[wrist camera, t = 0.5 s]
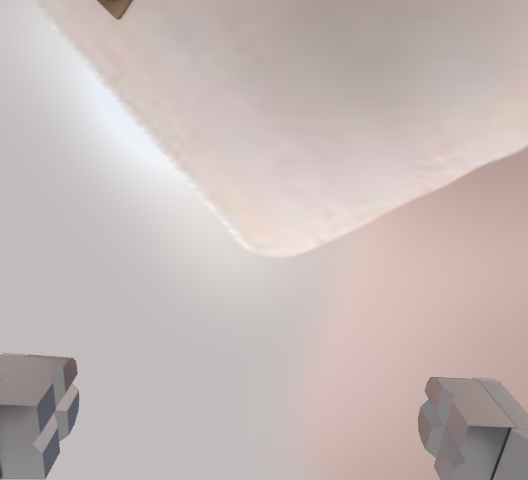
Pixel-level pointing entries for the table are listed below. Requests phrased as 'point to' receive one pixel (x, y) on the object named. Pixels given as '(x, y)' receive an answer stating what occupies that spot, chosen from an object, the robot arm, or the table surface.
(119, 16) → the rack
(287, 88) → the table surface
